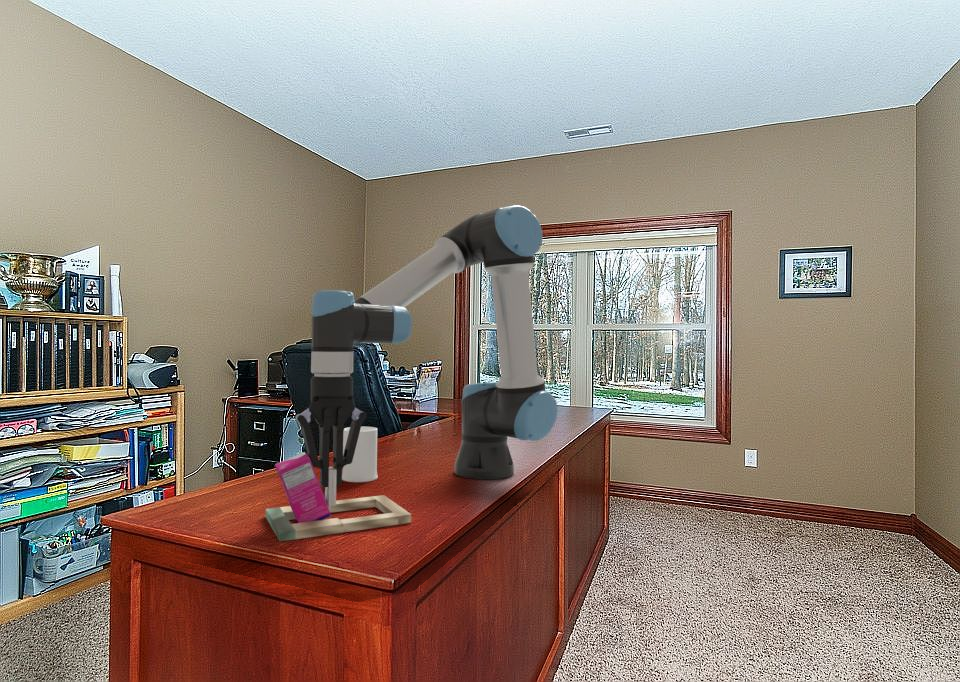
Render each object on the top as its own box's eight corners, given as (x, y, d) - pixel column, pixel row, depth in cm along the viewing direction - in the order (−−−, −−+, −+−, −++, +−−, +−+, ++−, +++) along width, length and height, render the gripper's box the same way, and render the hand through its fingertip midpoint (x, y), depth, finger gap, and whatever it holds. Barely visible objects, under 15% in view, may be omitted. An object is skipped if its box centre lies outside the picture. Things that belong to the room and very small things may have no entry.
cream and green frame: (383, 502, 118) (383, 495, 118) (411, 522, 105) (411, 514, 105) (265, 516, 107) (265, 508, 107) (279, 541, 94) (279, 532, 94)
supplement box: (294, 521, 105) (274, 463, 103) (326, 507, 107) (306, 450, 106) (299, 530, 100) (277, 470, 98) (332, 515, 102) (311, 456, 101)
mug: (357, 470, 147) (357, 423, 147) (388, 472, 145) (389, 425, 145) (335, 481, 136) (336, 430, 136) (368, 483, 134) (369, 432, 134)
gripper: (360, 373, 112) (358, 495, 111) (291, 374, 105) (290, 503, 105) (372, 375, 105) (371, 504, 105) (300, 376, 99) (298, 514, 99)
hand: (330, 504), depth 105 cm, fingers closed
